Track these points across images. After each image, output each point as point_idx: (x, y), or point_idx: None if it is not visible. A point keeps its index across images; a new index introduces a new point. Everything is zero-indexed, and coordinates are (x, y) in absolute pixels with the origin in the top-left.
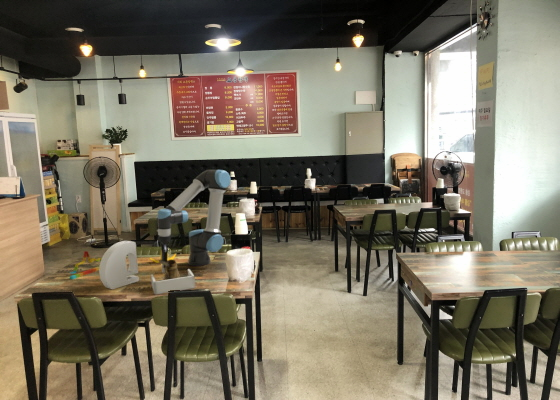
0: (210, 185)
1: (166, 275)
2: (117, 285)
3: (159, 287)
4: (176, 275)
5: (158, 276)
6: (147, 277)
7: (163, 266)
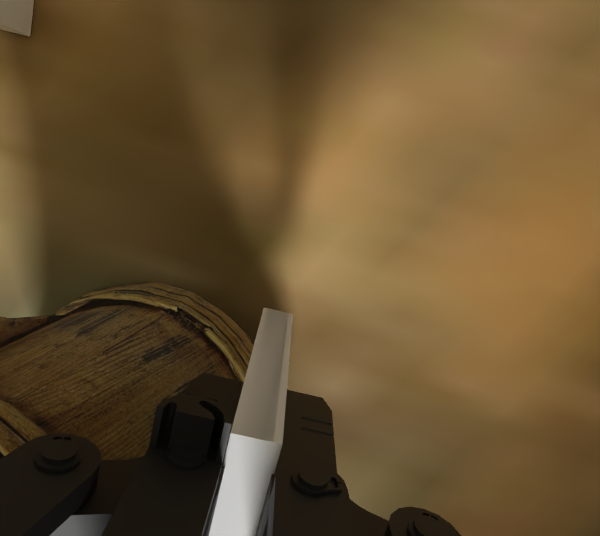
0: None
1: (64, 322)
2: None
3: None
4: None
5: (492, 276)
6: (581, 109)
7: (237, 397)
